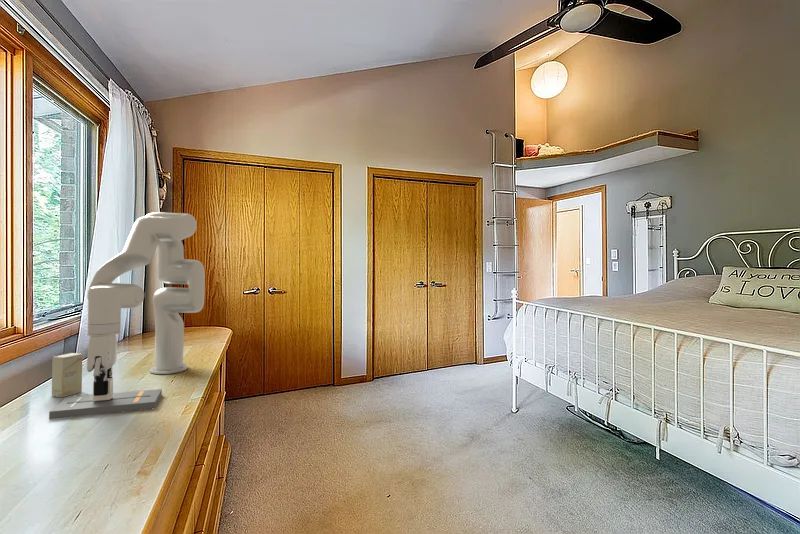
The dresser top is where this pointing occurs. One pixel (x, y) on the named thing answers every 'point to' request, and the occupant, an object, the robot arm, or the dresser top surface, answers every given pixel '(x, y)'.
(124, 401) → the fader board
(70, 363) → the skincare box
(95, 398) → the fader tab
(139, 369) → the dresser top surface
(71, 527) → the dresser top surface
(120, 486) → the dresser top surface
